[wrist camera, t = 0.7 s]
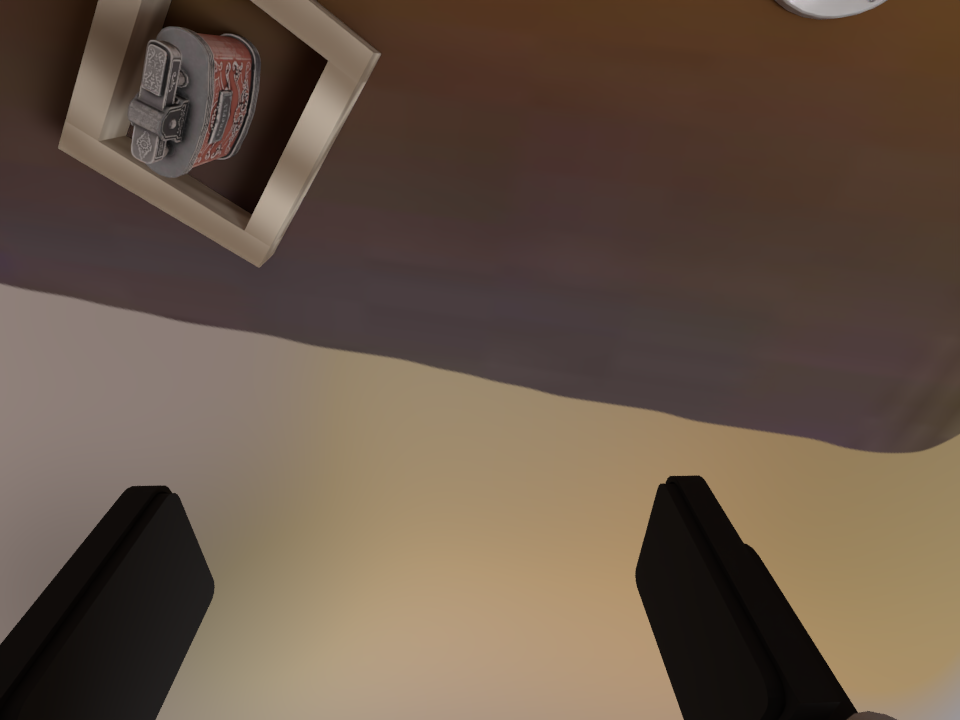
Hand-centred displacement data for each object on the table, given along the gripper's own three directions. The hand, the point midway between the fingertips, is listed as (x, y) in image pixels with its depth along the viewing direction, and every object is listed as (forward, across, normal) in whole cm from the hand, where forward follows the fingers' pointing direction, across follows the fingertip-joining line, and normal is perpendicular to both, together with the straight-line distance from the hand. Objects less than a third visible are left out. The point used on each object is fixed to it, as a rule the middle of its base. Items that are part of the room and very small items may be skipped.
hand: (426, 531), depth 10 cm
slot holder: (+32, +15, -6) cm, 36 cm away
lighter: (+32, +15, -6) cm, 36 cm away
